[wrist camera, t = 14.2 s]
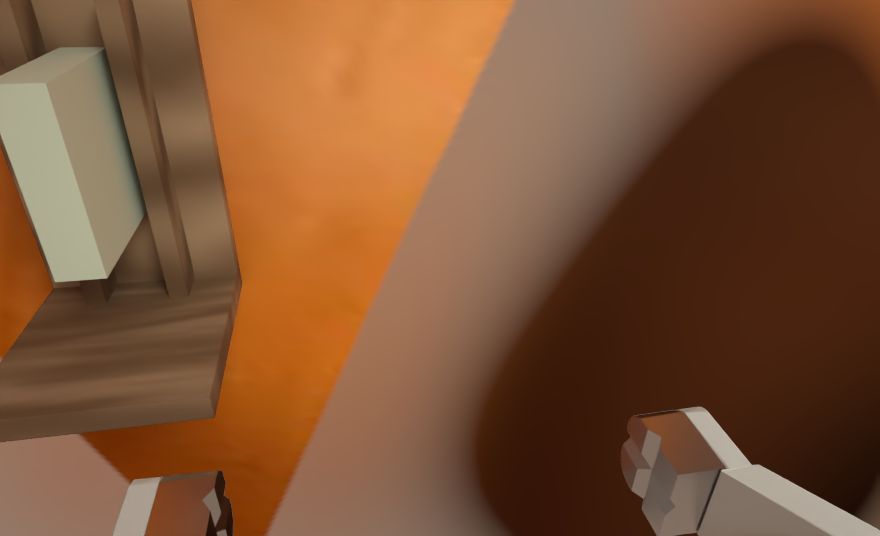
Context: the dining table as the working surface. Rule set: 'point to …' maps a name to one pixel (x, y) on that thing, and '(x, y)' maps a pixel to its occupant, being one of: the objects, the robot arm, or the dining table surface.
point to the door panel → (72, 159)
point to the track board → (132, 239)
